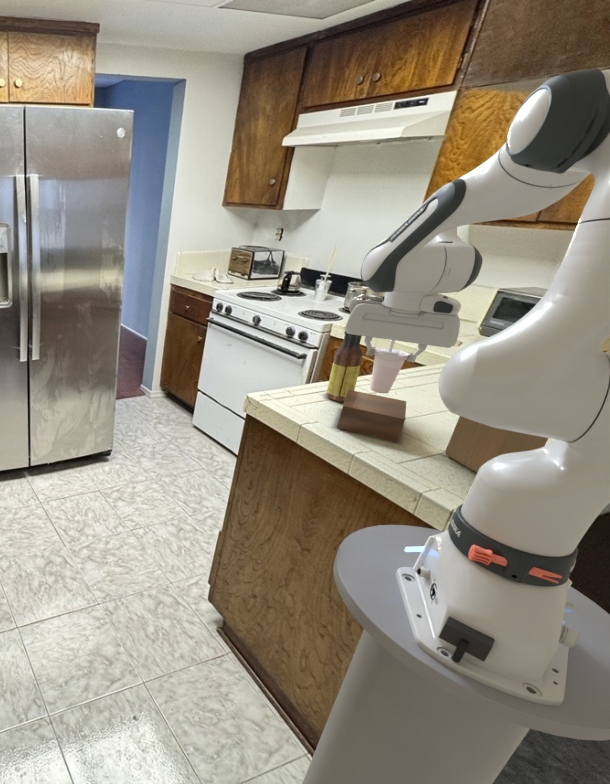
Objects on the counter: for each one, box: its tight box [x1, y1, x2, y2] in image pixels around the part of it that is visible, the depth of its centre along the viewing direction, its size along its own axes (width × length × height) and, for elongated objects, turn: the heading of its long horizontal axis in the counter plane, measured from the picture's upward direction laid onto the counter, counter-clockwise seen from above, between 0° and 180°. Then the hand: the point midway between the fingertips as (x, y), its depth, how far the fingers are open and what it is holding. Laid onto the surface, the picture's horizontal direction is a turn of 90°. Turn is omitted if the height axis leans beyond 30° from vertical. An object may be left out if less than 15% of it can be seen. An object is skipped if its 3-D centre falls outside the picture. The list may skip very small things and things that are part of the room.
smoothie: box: [369, 340, 409, 394], centre depth 109 cm, size 6×6×14 cm
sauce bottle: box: [326, 330, 363, 403], centre depth 126 cm, size 6×6×20 cm
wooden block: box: [445, 416, 549, 474], centre depth 95 cm, size 10×10×20 cm
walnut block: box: [336, 390, 407, 443], centre depth 114 cm, size 12×12×6 cm
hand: (389, 358), depth 108 cm, fingers closed on smoothie, 6 cm apart
